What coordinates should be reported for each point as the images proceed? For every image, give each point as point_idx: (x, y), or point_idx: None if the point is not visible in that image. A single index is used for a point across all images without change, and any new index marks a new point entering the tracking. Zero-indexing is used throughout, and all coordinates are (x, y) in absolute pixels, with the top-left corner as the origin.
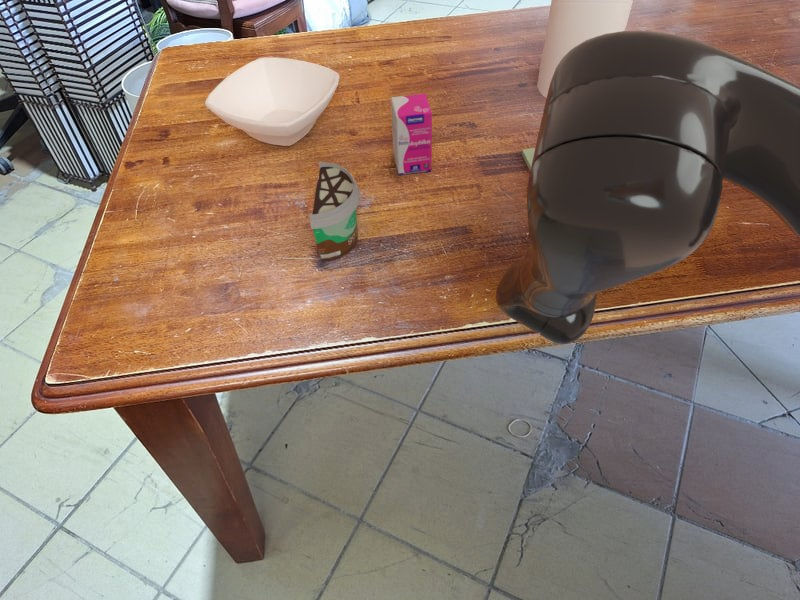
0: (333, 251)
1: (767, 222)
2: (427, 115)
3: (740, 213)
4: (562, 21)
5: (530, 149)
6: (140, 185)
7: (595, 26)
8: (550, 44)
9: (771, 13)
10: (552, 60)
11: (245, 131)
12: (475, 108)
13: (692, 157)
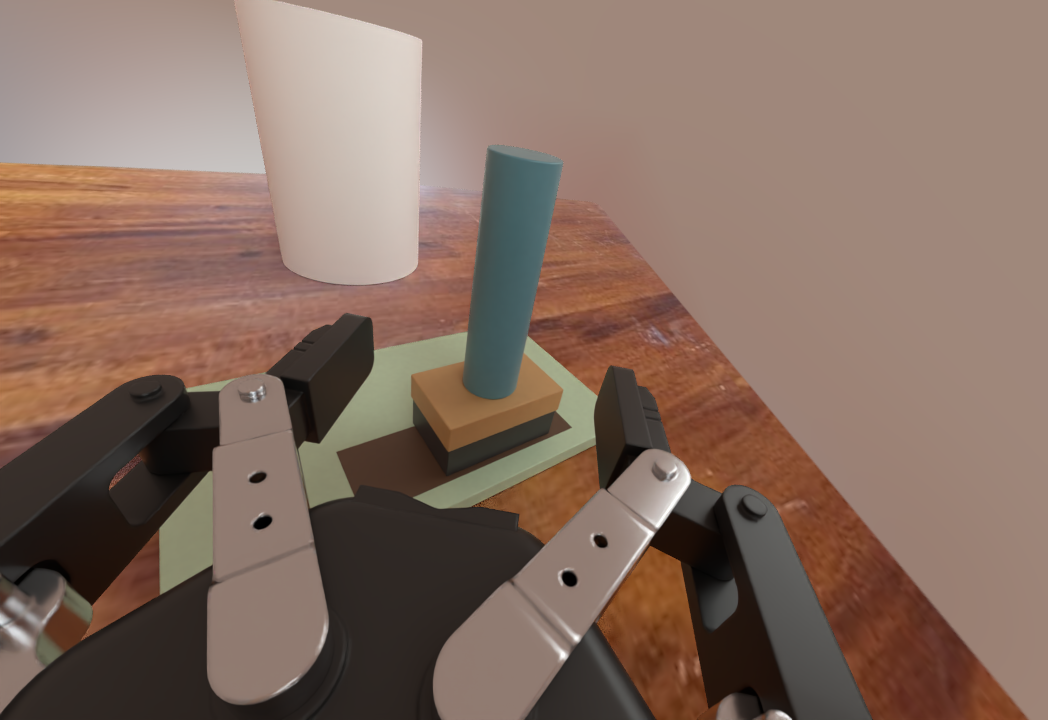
0: None
1: (798, 496)
2: None
3: (741, 483)
4: (269, 95)
5: (189, 390)
6: None
7: (345, 107)
8: (267, 158)
9: (582, 204)
10: (280, 192)
11: None
12: (85, 294)
13: None
